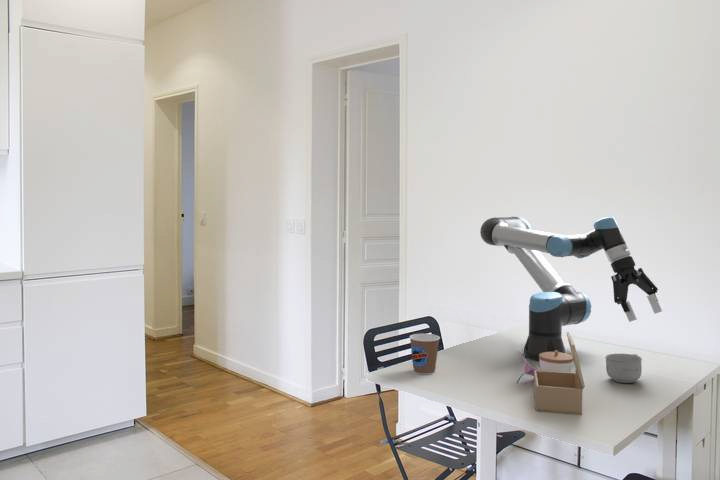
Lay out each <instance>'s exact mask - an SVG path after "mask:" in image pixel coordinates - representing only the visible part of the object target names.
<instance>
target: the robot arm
mask: <svg viewBox="0 0 720 480" xmlns="http://www.w3.org/2000/svg"><path fill="white" fill-rule="evenodd" d="M479 232H480V233H479V234H480V237H481V240H482V241H483V242H484V243H486V244H487V245H489V246H496V247H504V248H505V249H506V251H507V252H508V253H509V254H514V255H515V257H516V258H517V259H518V260H519V262H520V263H521V265H522V266H523V267H524V269H525V270H526V271H527V272H528V274H529V275H530V277H531V278H532V279H533V280H534V281H535V283H536V284H537V285H538V287H539V289H540V290H541V291H540V292H537V293H536V292H535V293H534V294H532V295H531V296H530V298H529V304H528V336H527V339H526V342H525V345H524V347H523V356H524V357H526V358H528V359H530V360H535V361H539V354H540V353H543V352H555V350H557V351H558V352H562V353H566V354H567V351H566V348H565V347H566V346H565V344H564V341H563V338H562V334H563V333H562V331H563V330H562V327H565V326H570V325H578V324H581V323H584V322H585V321H587V320H588V319H589V317H590V315H591V312H592V309H591V308H592V304H591V300H590V298H589V296H588V295H586V294H585V293H584V292H580V291H576V289H575V288H574V287H573V285H572V284H570V283H565V282H564V281H563V279H562V278H561V277H560V276H559V275H558V273H557V272H556V270H555V269H554V268H553V267H552V265H551V264H550V263H549V262H548V261H547V259H546V258H545V256H543V254H542V253H546V254H549V255H550V256H551V257H555V258H564V257H565V258H566V257H575V258H577V259H583V258H584V259H585V258H588V257H589V256H591V255H592V254H595V253H597V252H599V251H602V250H604V253H605V255H606V257H607V260H608V262H609V263H610V266H611V268H612V271H613V272H614V275H611V277H610V278H611V281H612V288H613V301H614V303H615V304H617V305H620V306H621V308H622V310H623V312H624V313H625V315H626V318H627V320H628V322H629V323H630V322H632V321H637V320H638V318H637V316H636V314H635V312H634V310H633V307H632V305H631V302H630V300H628V293H629V286H630V285H635V286H637V287H638V288H639V289H640V290H641V291H643V292H645V294H647V296H646V297H647V300H648V303H649V304H650V307H651V309H652V312H653V314H658V313H661V312H663V310H662V308H661V305H660V303H659V300H658V297H657V295H656V293H658V290H659V289H658V287H657V286H656V285H655V284H654V282H653V281H652V280H651V279H650V278H649V277H648V276H647V274H646V273H645V272H644V269H643V268H642V267H639V268H636V269H635V267H636V262H635V260H634V258H633V256H630V255H631V252H630V250H629V247H628V245H627V244H626V241H625V239H624V236H623V234H622V231H621V230H620V226H619V225H618V223H617V221H616V219H615V217H613V216H606V217H603V218H600V219H598V220H596V221H594V222H593V230H591V231H590V232H587V233H585V234H571V235H566V234H565V235H564V234H559V233H558V234H557V233H551V232H545V231H540V230H534V229H532V228H531V224H530V223H529V221H527V220H526V219H524V217H519V216H518V217H517V216H510V217H508V216H506V217H503V216H502V217H490V218H488V219H486V220H485V221H484V222H483V223H482V225H481V227H480V231H479ZM615 273H616V274H615Z"/></svg>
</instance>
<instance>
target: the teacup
mask: <svg viewBox="0 0 720 480" xmlns="http://www.w3.org/2000/svg"><path fill="white" fill-rule="evenodd" d="M642 361H643V358H642V357H641V356H639V355H638V354H637V353H632V354H631V353H609V354H605V366H606V367H605V369H606V374H607V376H608V377H609V378H610V379H611V380H612V381H614V382H615V383H621V384H631V383H632V384H633V383H636V382H637V381H638V380H639V379H640V378H641V376H642V371H643V369H642Z"/></svg>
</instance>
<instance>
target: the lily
mask: <svg viewBox="0 0 720 480" xmlns="http://www.w3.org/2000/svg"><path fill="white" fill-rule="evenodd" d="M518 353H519V354H520V355H521V357H522V358H523V360H524V361H522V365H523V373H522V374H521V375H520V377H519V378H518V380H517V382H516V384H518V383H519V382H520V379H522V377H523V376H524V375H529V376H533V377H534V370H537V369H536V366H534V365H531V364H530V363H529V362H528V360H527V359H526V358H525V356H524V354H523V353H522V352H521V351H520V350H518Z"/></svg>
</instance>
